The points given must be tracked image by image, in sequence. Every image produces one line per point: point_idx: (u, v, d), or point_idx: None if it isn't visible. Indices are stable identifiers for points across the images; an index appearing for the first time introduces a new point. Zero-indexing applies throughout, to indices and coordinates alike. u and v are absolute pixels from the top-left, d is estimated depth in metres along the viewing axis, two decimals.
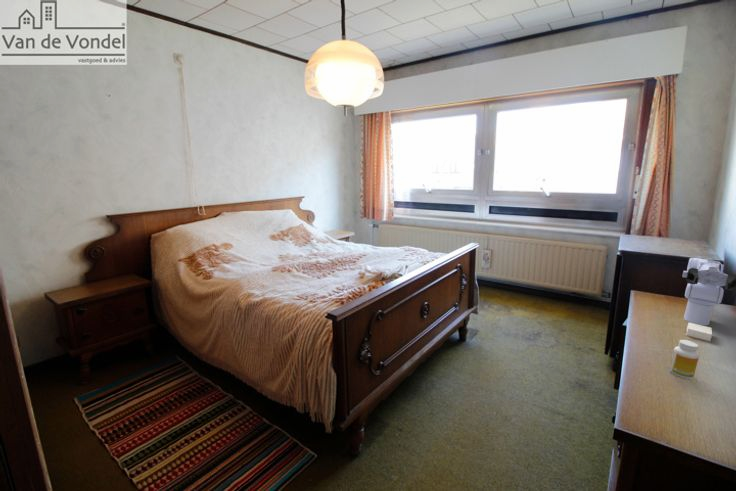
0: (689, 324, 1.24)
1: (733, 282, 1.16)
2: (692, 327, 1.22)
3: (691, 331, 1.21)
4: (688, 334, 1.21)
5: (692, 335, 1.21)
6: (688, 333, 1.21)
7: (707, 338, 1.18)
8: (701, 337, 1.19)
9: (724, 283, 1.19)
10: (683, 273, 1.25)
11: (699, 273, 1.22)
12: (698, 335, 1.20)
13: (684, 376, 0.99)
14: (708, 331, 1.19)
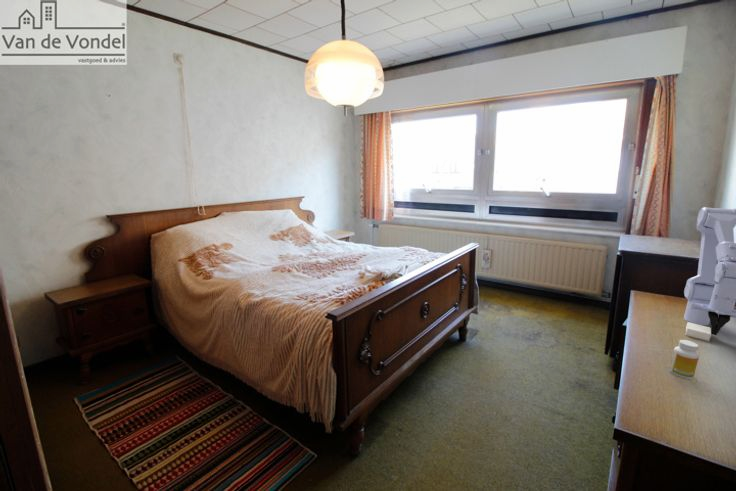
0: (688, 324, 1.25)
1: None
2: (691, 327, 1.22)
3: (690, 331, 1.21)
4: (687, 334, 1.21)
5: (691, 335, 1.21)
6: (687, 333, 1.21)
7: (706, 338, 1.18)
8: (700, 337, 1.19)
9: None
10: (690, 308, 1.22)
11: None
12: (697, 335, 1.20)
13: (684, 376, 0.99)
14: (707, 331, 1.19)
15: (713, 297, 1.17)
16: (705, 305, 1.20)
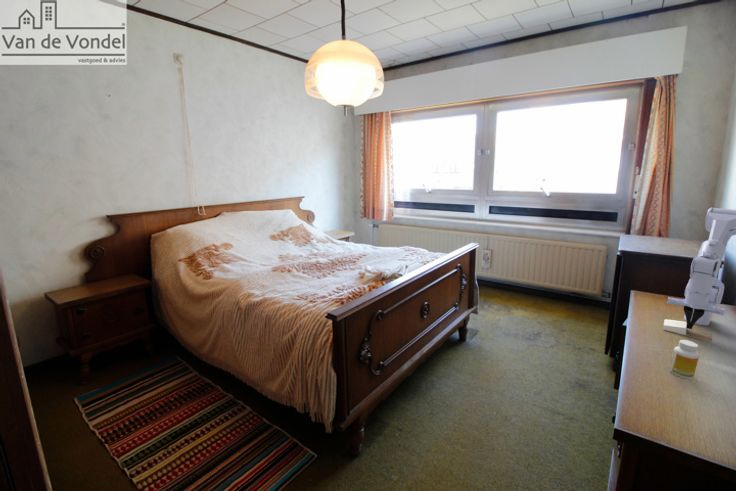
0: (665, 321, 1.29)
1: None
2: (667, 323, 1.26)
3: (667, 327, 1.25)
4: None
5: None
6: (664, 329, 1.25)
7: (682, 332, 1.22)
8: (677, 332, 1.23)
9: None
10: (667, 302, 1.26)
11: None
12: (674, 331, 1.24)
13: (684, 376, 0.99)
14: (683, 325, 1.23)
15: (688, 292, 1.21)
16: (681, 300, 1.24)
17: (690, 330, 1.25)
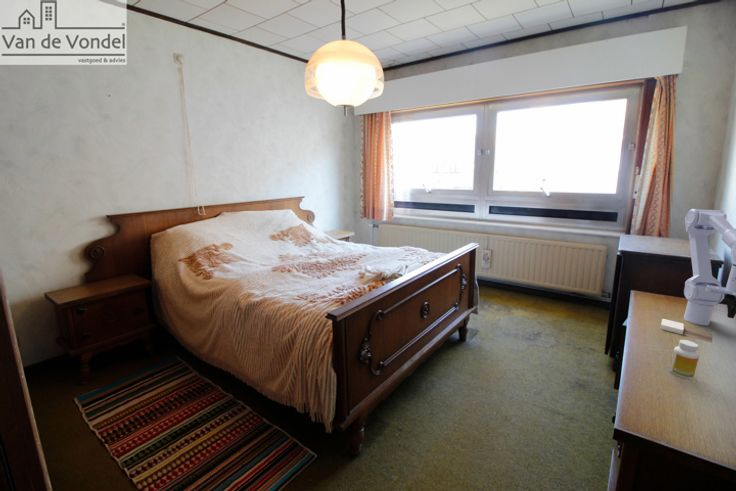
0: (663, 320, 1.29)
1: None
2: (665, 323, 1.27)
3: (664, 327, 1.25)
4: None
5: None
6: None
7: (679, 333, 1.23)
8: None
9: None
10: (706, 291, 1.20)
11: (724, 292, 1.17)
12: None
13: (684, 376, 0.99)
14: (680, 327, 1.24)
15: (730, 279, 1.15)
16: (721, 288, 1.18)
17: (690, 330, 1.25)
